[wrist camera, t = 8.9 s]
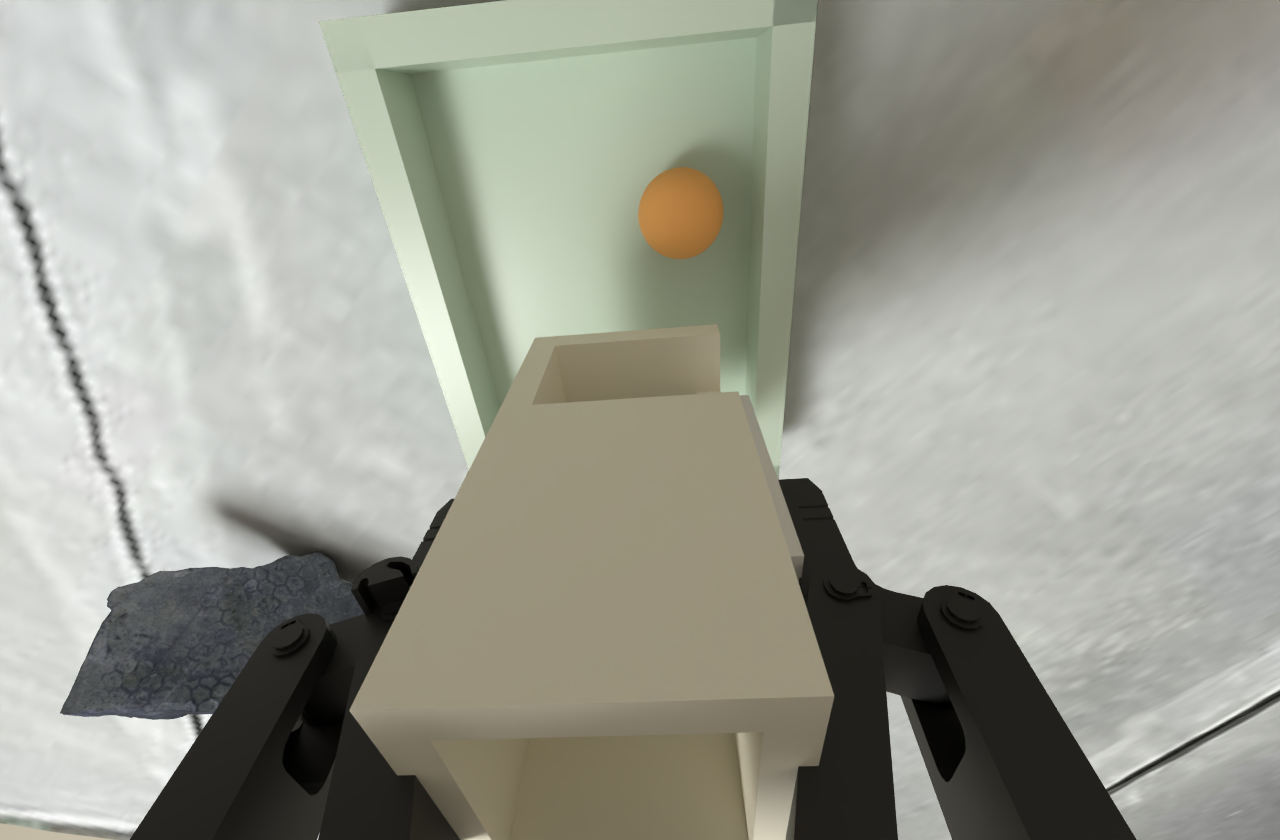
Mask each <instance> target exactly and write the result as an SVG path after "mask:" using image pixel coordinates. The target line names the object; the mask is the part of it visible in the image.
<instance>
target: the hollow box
mask: <svg viewBox="0 0 1280 840" xmlns="http://www.w3.org/2000/svg"><path fill="white" fill-rule="evenodd" d="M833 700H834V693H833V690H832V687H831V684H830V681H829V678H828V674H827V671H826V668H825V665H824V662H823V659H822V655H821V652H820V649H819V646H818V643H817V640H816V636H815V633H814V630H813V627H812V624H811V620H810V617H809V614H808V611H807V608H806V605H805V601H804V598H803V595H802V592H801V589H800V586H799V582H798V579H797V576H796V573H795V570H794V566H793V563H792V560H791V557H790V554H789V551H788V547H787V544H786V541H785V538H784V535H783V532H782V528H781V525H780V522H779V519H778V516H777V513H776V509H775V506H774V503H773V500H772V497H771V493H770V490H769V487H768V484H767V481H766V478H765V474H764V471H763V468H762V465H761V462H760V459H759V455H758V452H757V449H756V446H755V443H754V439H753V436H752V433H751V430H750V427H749V424H748V420H747V417H746V414H745V411H744V408H743V405H742V401H741V398H740V395H739V392H738V391H737V392H720V332H719V328H718V325H717V324H714V325H701V326H687V327H673V328H660V329H646V330H633V331H619V332H605V333H592V334H578V335H565V336H551V337H538V338H535V339H534V341H533V343H532V345H531V347H530V349H529V351H528V353H527V355H526V357H525V359H524V361H523V363H522V365H521V367H520V369H519V371H518V373H517V375H516V377H515V379H514V381H513V383H512V385H511V387H510V389H509V391H508V393H507V395H506V397H505V399H504V401H503V403H502V405H501V407H500V409H499V411H498V413H497V415H496V417H495V419H494V421H493V423H492V425H491V427H490V429H489V431H488V433H487V435H486V437H485V439H484V441H483V443H482V445H481V447H480V449H479V451H478V453H477V455H476V457H475V459H474V461H473V463H472V465H471V467H470V469H469V471H468V473H467V475H466V477H465V479H464V481H463V483H462V485H461V487H460V489H459V491H458V493H457V495H456V497H455V499H454V501H453V503H452V505H451V507H450V509H449V511H448V513H447V515H446V517H445V519H444V521H443V523H442V525H441V527H440V529H439V531H438V533H437V535H436V537H435V539H434V541H433V543H432V545H431V547H430V549H429V551H428V553H427V555H426V557H425V559H424V561H423V563H422V565H421V567H420V569H419V571H418V574H417V576H416V578H415V580H414V582H413V584H412V586H411V588H410V590H409V592H408V594H407V596H406V598H405V600H404V602H403V604H402V606H401V608H400V610H399V612H398V614H397V616H396V618H395V620H394V622H393V624H392V626H391V628H390V630H389V632H388V634H387V636H386V638H385V640H384V642H383V644H382V646H381V648H380V650H379V652H378V654H377V656H376V658H375V660H374V662H373V664H372V666H371V668H370V670H369V672H368V674H367V676H366V678H365V680H364V682H363V684H362V686H361V688H360V690H359V692H358V694H357V696H356V698H355V700H354V702H353V704H352V706H351V708H350V710H349V711H350V712H351V714H352V715H353V716H354V718H355V719H356V720H357V722H358V723H359V724H360V726H361V727H362V728H363V730H364V731H365V733H366V734H367V735H368V737H369V738H370V739H371V741H372V742H373V743H374V745H375V746H376V747H377V749H378V750H379V751H380V753H381V754H382V755H383V757H384V758H385V760H386V761H387V762H388V764H389V765H390V766H391V768H392V769H393V770H394V772H395V773H396V774H397V775H416V777H417V778H418V780H419V781H420V783H421V784H422V785H423V787H424V788H425V790H426V791H427V793H428V794H429V795H430V797H431V798H432V800H433V801H434V803H435V804H436V806H437V807H438V808H439V810H440V811H441V813H442V814H443V816H444V817H445V818H446V820H447V821H448V823H449V824H450V826H451V827H452V828H453V830H454V831H455V833H456V834H457V836H458V837H459V838H460V840H786V833H787V827H788V822H789V816H790V810H791V805H792V799H793V794H794V788H795V782H796V777H797V771H798V766H819V762H820V757H821V753H822V748H823V744H824V740H825V735H826V731H827V726H828V722H829V717H830V713H831V709H832V704H833Z"/></svg>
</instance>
